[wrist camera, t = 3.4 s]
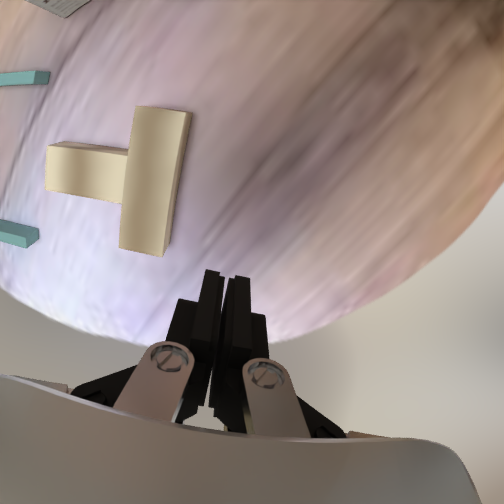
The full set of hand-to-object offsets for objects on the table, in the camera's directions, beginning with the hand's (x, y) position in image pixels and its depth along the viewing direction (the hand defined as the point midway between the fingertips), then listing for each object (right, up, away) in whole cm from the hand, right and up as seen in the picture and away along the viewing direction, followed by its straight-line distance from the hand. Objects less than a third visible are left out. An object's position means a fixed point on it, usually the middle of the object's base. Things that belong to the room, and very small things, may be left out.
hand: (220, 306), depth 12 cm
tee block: (-11, +9, +14) cm, 20 cm away
